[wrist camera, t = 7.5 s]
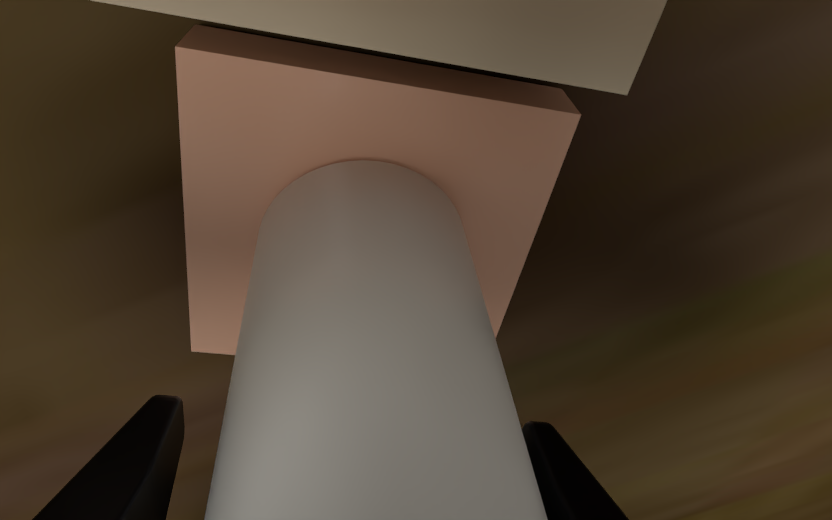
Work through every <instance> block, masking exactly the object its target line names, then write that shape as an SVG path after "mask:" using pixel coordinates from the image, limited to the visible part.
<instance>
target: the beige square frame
mask: <svg viewBox="0 0 832 520" xmlns="http://www.w3.org/2000/svg"><path fill="white" fill-rule="evenodd" d="M92 1H98V2H103V3H109V4H115V5H120V6H126V7H132V8H137V9H143V10H149V11H154V12H160V13H166V14H171V15H177V16H183V17H188V18H194V19H199V20H205V21H211V22H216V23H222V24H228V25H233V26H239V27H245V28H250V29H256V30H262V31H267V32H273V33H279V34H284V35H290V36H295V37H301V38H307V39H312V40H318V41H324V42H329V43H335V44H341V45H346V46H352V47H358V48H363V49H369V50H375V51H380V52H386V53H391V54H397V55H403V56H408V57H414V58H420V59H425V60H431V61H437V62H442V63H448V64H454V65H459V66H465V67H471V68H476V69H482V70H488V71H493V72H499V73H504V74H510V75H516V76H521V77H527V78H533V79H538V80H544V81H550V82H555V83H561V84H567V85H572V86H578V87H584V88H589V89H595V90H600V91H606V92H612V93H617V94H623V95H627V94H628V92H629V90H630V87H631V85H632V83H633V80H634V78H635V76H636V73H637V71H638V68H639V66H640V64H641V61H642V59H643V57H644V54H645V52H646V50H647V47H648V45H649V42H650V40H651V38H652V35H653V33H654V31H655V28H656V26H657V24H658V21H659V19H660V17H661V14H662V12H663V9H664V7H665V5H666V2H667V0H92Z"/></svg>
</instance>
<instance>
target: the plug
mask: <svg viewBox="0 0 832 520" xmlns="http://www.w3.org/2000/svg"><path fill="white" fill-rule="evenodd" d="M204 520H548V519H547V516H546V512H545V509H544V505H543V502H542V498H541V495H540V491H539V488H538V484H537V481H536V478H535V474H534V471H533V467H532V464H531V460H530V457H529V453H528V450H527V446H526V443H525V439H524V436H523V433H522V429H521V426H520V422H519V419H518V415H517V412H516V408H515V405H514V401H513V398H512V395H511V391H510V388H509V384H508V381H507V377H506V374H505V370H504V367H503V363H502V360H501V357H500V353H499V350H498V346H497V343H496V339H495V336H494V332H493V329H492V325H491V322H490V318H489V315H488V312H487V308H486V305H485V301H484V298H483V294H482V291H481V287H480V284H479V280H478V277H477V274H476V270H475V267H474V263H473V260H472V256H471V253H470V249H469V246H468V242H467V239H466V236H465V232H464V229H463V225H462V222H461V218H460V216H459V214H458V212H457V209H456V208H455V206H454V204H453V203H452V201H451V200H450V198H449V197H448V196H447V195H446V194H445V193H444V192H443V191H442V189H440V188H439V187H438V186H437V185H436V184H434V183H433V182H432V181H431V180H429V179H427V178H426V177H424V176H423V175H421V174H419V173H417V172H415V171H412V170H410V169H408V168H405V167H402V166H399V165H396V164H392V163H386V162H381V161H369V160H358V161H346V162H340V163H334V164H330V165H327V166H324V167H320V168H318V169H315V170H313V171H311V172H308V173H306V174H305V175H303V176H301V177H299V178H298V179H296V180H294V181H293V182H292V183H291V184H289V185H288V186H287V187H285V188H284V189H283V190H282V191H281V192H280V193H279V194H278V195H277V196H276V197H275V199H274V200H273V201H272V203H271V204H270V206H269V207H268V209H267V211H266V213H265V215H264V217H263V219H262V222H261V225H260V228H259V233H258V238H257V243H256V249H255V254H254V259H253V264H252V270H251V275H250V280H249V286H248V291H247V296H246V301H245V307H244V312H243V317H242V323H241V328H240V333H239V338H238V344H237V349H236V354H235V360H234V365H233V370H232V375H231V381H230V386H229V391H228V397H227V402H226V407H225V412H224V418H223V423H222V428H221V434H220V439H219V444H218V449H217V455H216V460H215V465H214V471H213V476H212V481H211V486H210V492H209V497H208V502H207V508H206V513H205V518H204Z"/></svg>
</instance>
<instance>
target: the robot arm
mask: <svg viewBox="0 0 832 520" xmlns="http://www.w3.org/2000/svg"><path fill="white" fill-rule="evenodd" d="M522 433H523V436H524V439H525V443H526V446H527V450H528V453H529V457H530V460H531V464H532V467H533V471H534V474H535V478H536V481H537V484H538V488H539V491H540V495H541V498H542V502H543V505H544V509H545V512H546V516H547V519H548V520H629V519H628V518H627V517H626V515H625V514H624V513H623V512H622V510H621V509H620V508H619V507H618V506H617V504H616V503H615V502H614V501H613V499H612V498H611V497H610V496H609V495H608V493H607V492H606V491H605V490H604V488H603V487H602V486H601V485H600V483H599V482H598V481H597V480H596V479H595V477H594V476H593V475H592V474H591V472H590V471H589V470H588V469H587V467H586V466H585V465H584V464H583V463H582V461H581V460H580V459H579V458H578V456H577V455H576V454H575V453H574V451H573V450H572V449H571V448H570V447H569V445H568V444H567V443H566V442H565V440H564V439H563V438H562V437H561V435H560V434H559V433H558V432H557V431H556V429H555V428H554V427H553V426H552V425H551V424H549V423H546V422H534V421H529V422H527V423H526V424H525V425H524V426H523V428H522ZM183 439H184V414H183V402H182V399H181V398H180V397H178V396H168V395H155V396H153V397H152V398H150V399H149V400H148V401H147V402H146V403H145V404H144V405H143V406H142V407H141V408H140V409H139V410H138V412H137V413H136V414H135V415H134V416H133V417H132V418H131V419H130V420H129V421H128V422H127V423H126V424H125V425H124V426H123V427H122V428H121V429H120V430H119V431H118V432H117V433H116V434H115V435H114V436H113V437H112V438H111V439H110V440H109V441H108V442H107V443H106V444H105V445H104V446H103V447H102V448H101V449H100V451H99V452H98V453H97V454H96V455H95V456H94V457H93V458H92V459H91V460H90V461H89V462H88V463H87V464H86V465H85V466H84V467H83V468H82V469H81V470H80V471H79V472H78V473H77V474H76V475H75V476H74V477H73V478H72V479H71V480H70V481H69V482H68V483H67V484H66V485H65V486H64V487H63V488H62V490H61V491H60V492H59V493H58V494H57V495H56V496H55V497H54V498H53V499H52V500H51V501H50V502H49V503H48V504H47V505H46V506H45V507H44V508H43V509H42V510H41V511H40V512H39V513H38V514H37V515H36V516H35V517H34V518H33V519H32V520H166V515H167V511H168V506H169V502H170V498H171V493H172V489H173V484H174V480H175V476H176V471H177V467H178V462H179V458H180V453H181V449H182V445H183Z"/></svg>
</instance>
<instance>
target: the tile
mask: <svg viewBox="0 0 832 520" xmlns="http://www.w3.org/2000/svg"><path fill="white" fill-rule="evenodd" d="M175 55H176V74H177V92H178V111H179V130H180V148H181V167H182V186H183V204H184V223H185V241H186V260H187V279H188V297H189V316H190V334H191V351H193V352H205V353H218V354H230V355H235V354H236V349H237V344H238V338H239V333H240V328H241V323H242V317H243V312H244V307H245V301H246V296H247V291H248V286H249V280H250V275H251V270H252V264H253V259H254V254H255V249H256V243H257V238H258V233H259V228H260V225H261V222H262V219H263V217H264V215H265V213H266V211H267V209H268V207H269V206H270V204H271V203H272V201H273V200H274V199H275V197H276V196H277V195H278V194H279V193H280V192H281V191H282V190H283V189H284V188H285V187H287V186H288V185H289V184H291V183H292V182H293V181H294V180H296V179H298V178H299V177H301V176H303V175H305V174H306V173H308V172H311V171H313V170H315V169H318V168H320V167H324V166H327V165H330V164H334V163H340V162H346V161H358V160H369V161H381V162H386V163H392V164H396V165H399V166H402V167H405V168H408V169H410V170H412V171H415V172H417V173H419V174H421V175H423V176H424V177H426V178H427V179H429V180H431V181H432V182H433V183H434V184H436V185H437V186H438V187H439V188H440V189H442V191H443V192H444V193H445V194H446V195H447V196H448V197H449V198H450V200H451V201H452V203H453V204H454V206H455V208H456V209H457V212H458V214H459V216H460V218H461V222H462V225H463V229H464V232H465V236H466V239H467V242H468V246H469V249H470V253H471V256H472V260H473V263H474V267H475V270H476V274H477V277H478V280H479V284H480V287H481V291H482V294H483V298H484V301H485V305H486V308H487V312H488V315H489V318H490V322H491V325H492V329H493V332H494V336H495V339H496V336H497V334H498V331H499V328H500V326H501V323H502V320H503V318H504V315H505V313H506V310H507V307H508V305H509V302H510V300H511V297H512V294H513V292H514V289H515V287H516V284H517V281H518V279H519V276H520V273H521V271H522V268H523V266H524V263H525V260H526V258H527V255H528V253H529V250H530V247H531V245H532V242H533V240H534V237H535V234H536V232H537V229H538V226H539V224H540V221H541V219H542V216H543V213H544V211H545V208H546V206H547V203H548V200H549V198H550V195H551V193H552V190H553V187H554V185H555V182H556V179H557V177H558V174H559V172H560V169H561V166H562V164H563V161H564V159H565V156H566V153H567V151H568V148H569V145H570V143H571V140H572V138H573V135H574V132H575V130H576V127H577V125H578V122H579V119H580V117H581V114H580V112H579V111H578V110H577V108H576V107H575V106H574V104H573V103H572V102H571V100H570V99H569V98H568V96H567V95H566V94H565V92H564V91H563V90H562V89H561V88H555V87H549V86H544V85H538V84H532V83H527V82H521V81H515V80H510V79H504V78H498V77H492V76H487V75H481V74H475V73H470V72H464V71H458V70H453V69H447V68H441V67H435V66H430V65H424V64H418V63H413V62H407V61H401V60H396V59H390V58H384V57H378V56H373V55H367V54H361V53H356V52H350V51H344V50H339V49H333V48H327V47H321V46H316V45H310V44H304V43H299V42H293V41H287V40H282V39H276V38H270V37H264V36H259V35H253V34H247V33H242V32H236V31H230V30H225V29H219V28H213V27H207V26H202V25H196V24H195V25H194V26H193V27H192V28H191V29H190V30H189V31H188V33H187V34H186V35H185V36H184V37H183V38H182V39H181V40H180V41H179V43H178V44H177V45H176V46H175Z"/></svg>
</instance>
